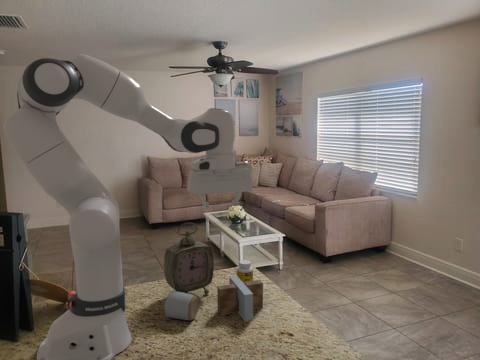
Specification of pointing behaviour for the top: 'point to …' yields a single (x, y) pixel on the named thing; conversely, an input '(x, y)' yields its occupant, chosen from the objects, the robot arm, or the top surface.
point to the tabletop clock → (188, 264)
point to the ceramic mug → (181, 305)
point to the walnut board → (230, 301)
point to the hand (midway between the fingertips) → (220, 207)
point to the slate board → (243, 298)
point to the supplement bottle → (245, 271)
